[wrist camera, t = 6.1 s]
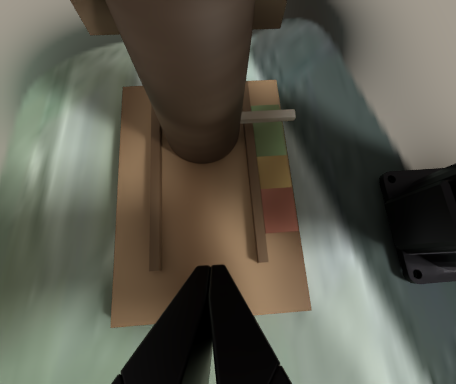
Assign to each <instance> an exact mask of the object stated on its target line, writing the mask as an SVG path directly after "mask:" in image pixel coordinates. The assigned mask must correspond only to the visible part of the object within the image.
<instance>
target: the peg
mask: <svg viewBox="0 0 456 384" xmlns="http://www.w3.org/2000/svg"><path fill="white" fill-rule="evenodd" d="M70 1H71V3H72V4H73V6H74V8H75V9H76V11H77V13H78V15H79V16H80V18H81V20H82V22H83V23H84V25H85V27H86V28H87V30H88V32H89V34H90V35H117V34H120V35H121V37H122V40H123V42H124V44H125V46H126V49H127V51H128V53H129V55H130V58H131V60H132V62H133V64H134V67H135V69H136V71H137V73H138V76H139V78H140V80H141V82H142V85H143V87H144V89H145V91H146V94H147V96H148V98H149V100H150V102H151V105H152V107H153V109H154V111H155V114H156V116H157V118H158V120H159V123H160V125H161V127H162V129H163V132H164V134H165V136H166V138H167V141H168V143H169V145H170V147H171V148H172V150H173V151H174V152H175V153H176V154H177V155H178V156H179V157H181V158H183V159H184V160H187V161H189V162H193V163H199V164H206V163H212V162H215V161H218V160H220V159H222V158H224V157H225V156H226V155H228V154H229V153H230V152H231V151H232V149H233V148H234V146H235V145H236V143H237V140H238V137H239V129H240V124H243V123H262V122H280V121H294V119H295V117H296V116H295V110H294V109H287V110H268V111H248V112H242V106H243V98H244V91H245V83H246V75H247V68H248V60H249V52H250V45H251V37H252V30H253V29H280V27H281V23H282V19H283V15H284V11H285V7H286V3H287V0H70Z"/></svg>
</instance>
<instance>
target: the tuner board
mask: <svg viewBox="0 0 456 384" xmlns="http://www.w3.org/2000/svg"><path fill="white" fill-rule="evenodd" d="M268 110H281V108H280V102H279V95H278V89H277V82H276V80H261V81H246V83H245V91H244V98H243V106H242V112H248V111H268ZM217 264H224V265H225V266H226V267H227V269H228V271H229V273H230V275H231V276H232V278H233V280H234V282H235V283H236V285H237V287H238V289H239V291H240V292H241V294H242V296H243V298H244V299H245V301H246V303H247V305H248V307H249V308H250V310H251V312H252V314H253V315H264V314H275V313H287V312H298V311H310V310H311V303H310V297H309V290H308V284H307V277H306V271H305V264H304V258H303V251H302V245H301V238H300V232H299V225H298V219H297V212H296V206H295V199H294V193H293V186H292V180H291V173H290V167H289V160H288V154H287V147H286V141H285V134H284V128H283V121H280V122H262V123H243V124H240V129H239V137H238V140H237V143H236V145H235V146H234V148H233V149H232V151H231V152H230V153H229V154H228V155H226V156H225V157H224V158H222V159H220V160H218V161H215V162H212V163H206V164H199V163H193V162H189V161H187V160H184V159H183V158H181V157H179V156H178V155H177V154H176V153H175V152H174V151H173V150H172V148H171V147H170V145H169V143H168V141H167V138H166V136H165V134H164V132H163V129H162V127H161V125H160V123H159V120H158V118H157V116H156V114H155V111H154V109H153V107H152V105H151V102H150V100H149V98H148V96H147V94H146V91H145V89H144V87H143V86H130V87H123V94H122V113H121V133H120V152H119V172H118V192H117V211H116V231H115V250H114V270H113V289H112V309H111V328H115V327H126V326H138V325H149V324H155V323H156V322H157V320H158V319H159V317H160V316H161V315H162V313H163V312H164V311H165V309H166V308H167V306H168V305H169V304H170V302H171V301H172V300H173V298H174V297H175V295H176V294H177V293H178V291H179V290H180V288H181V287H182V286H183V284H184V283H185V282H186V280H187V279H188V277H189V276H190V275H191V273H192V272H193V271H194V269H195V268H196V267H197V266H199V265H210V266H212V265H217Z"/></svg>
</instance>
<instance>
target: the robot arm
mask: <svg viewBox="0 0 456 384" xmlns="http://www.w3.org/2000/svg"><path fill="white" fill-rule="evenodd" d="M388 178H389V179H391V183H390V182H389V181H388ZM380 185H381V189H382V193H383V197H384V201H385V208H386V212H387V216H388V220H389V223H390V227H391V231H392V235H393V239H394V243H395V246H396V247H397V251H398V255H399V259H400V263H401V267H402V271H403V275H404V277H405V279H406V280H407V281H408V282H410V283H416V284H426V283H438V282H449V281H456V164H453V165H451V166H448V167H446V168H438V169H423V170H406V171H390V172H386V173H385V174H383V175H382V176H380ZM413 271H415V272H416V273H417V276H416V278H415V277H414V276H413ZM212 347H213V354H214V364H215V374H216V383H217V384H292V383H291V381H290V379H289V377H288V376H287V374H286V372H285V370H284V368H283V367H282V366H280V362H279V360H278V358H277V356H276V355H275V353H274V351H273V349H272V347H271V346H270V344H269V342H268V340H267V339H266V337H265V335H264V333H263V331H262V330H261V328H260V326H259V324H258V323H257V321H256V319H255V317H254V315H253V314H252V312H251V310H250V308H249V307H248V305H247V303H246V301H245V299H244V298H243V296H242V294H241V292H240V291H239V289H238V287H237V285H236V283H235V282H234V280H233V278H232V276H231V275H230V273H229V271H228V269H227V267H226V266H225V265H224V264H217V265H212V266H210V265H199V266H197V267H196V268H195V269H194V271H193V272H192V273H191V275H190V276H189V277H188V279H187V280H186V282H185V283H184V284H183V286H182V287H181V288H180V290H179V291H178V293H177V294H176V295H175V297H174V298H173V300H172V301H171V302H170V304H169V305H168V306H167V308H166V309H165V311H164V312H163V313H162V315H161V316H160V317H159V319H158V320H157V322H156V323H155V324H154V326H153V327H152V329H151V330H150V331H149V333H148V334H147V335H146V337H145V338H144V340H143V341H142V342H141V344H140V345H139V347H138V348H137V349H136V351H135V352H134V353H133V355H132V356H131V358H130V359H129V360H128V362H127V363H126V364H125V366H124V367H123V369H122V370H121V374H118V375H117V377H116V378H115V379H114V381H113V382H112V384H208V383H209V375H210V366H211V357H212Z"/></svg>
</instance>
